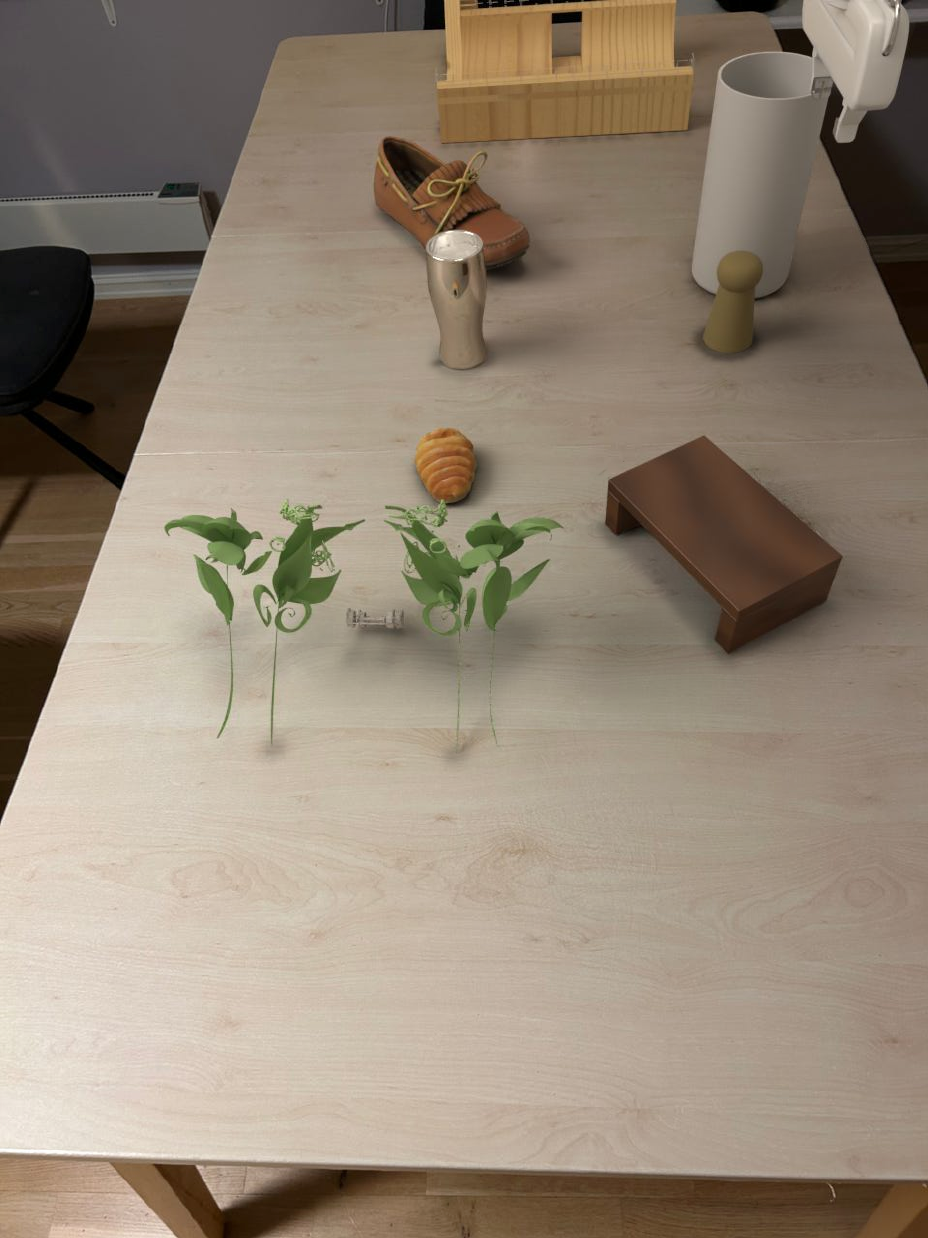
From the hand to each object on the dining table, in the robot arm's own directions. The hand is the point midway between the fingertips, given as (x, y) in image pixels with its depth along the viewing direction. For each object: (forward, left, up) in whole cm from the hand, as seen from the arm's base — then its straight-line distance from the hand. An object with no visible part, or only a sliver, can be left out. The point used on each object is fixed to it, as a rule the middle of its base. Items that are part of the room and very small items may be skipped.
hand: (830, 116), depth 93 cm
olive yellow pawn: (+4, -5, -27) cm, 28 cm away
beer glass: (+33, -21, -27) cm, 47 cm away
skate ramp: (-18, -77, -27) cm, 83 cm away
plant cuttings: (+64, +17, -27) cm, 72 cm away
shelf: (+29, +23, -27) cm, 46 cm away
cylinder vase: (-6, -15, -27) cm, 32 cm away
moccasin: (+21, -46, -27) cm, 57 cm away
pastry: (+45, -3, -27) cm, 53 cm away
